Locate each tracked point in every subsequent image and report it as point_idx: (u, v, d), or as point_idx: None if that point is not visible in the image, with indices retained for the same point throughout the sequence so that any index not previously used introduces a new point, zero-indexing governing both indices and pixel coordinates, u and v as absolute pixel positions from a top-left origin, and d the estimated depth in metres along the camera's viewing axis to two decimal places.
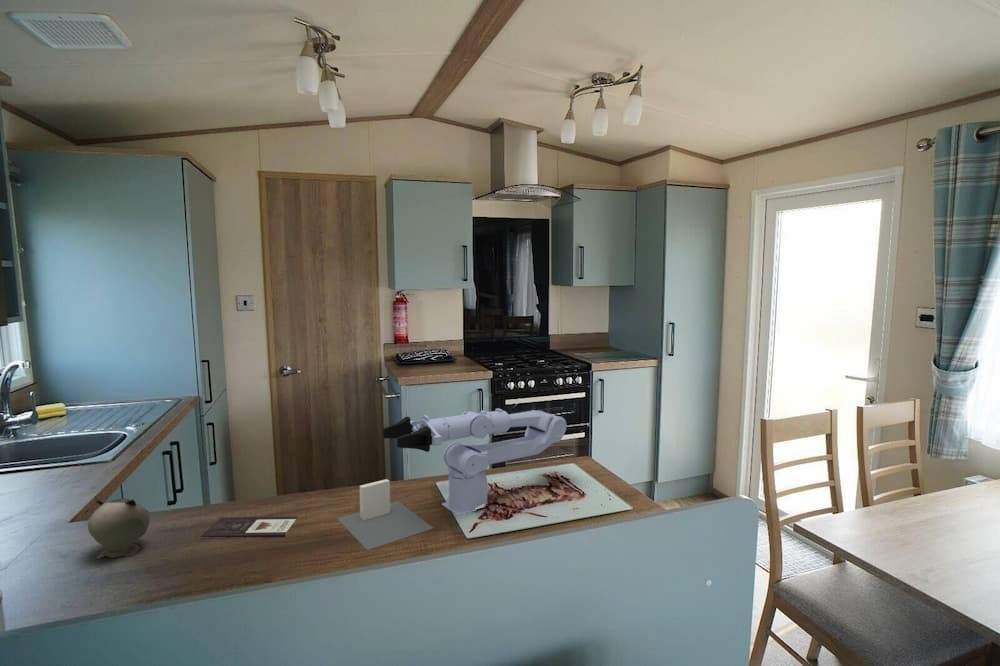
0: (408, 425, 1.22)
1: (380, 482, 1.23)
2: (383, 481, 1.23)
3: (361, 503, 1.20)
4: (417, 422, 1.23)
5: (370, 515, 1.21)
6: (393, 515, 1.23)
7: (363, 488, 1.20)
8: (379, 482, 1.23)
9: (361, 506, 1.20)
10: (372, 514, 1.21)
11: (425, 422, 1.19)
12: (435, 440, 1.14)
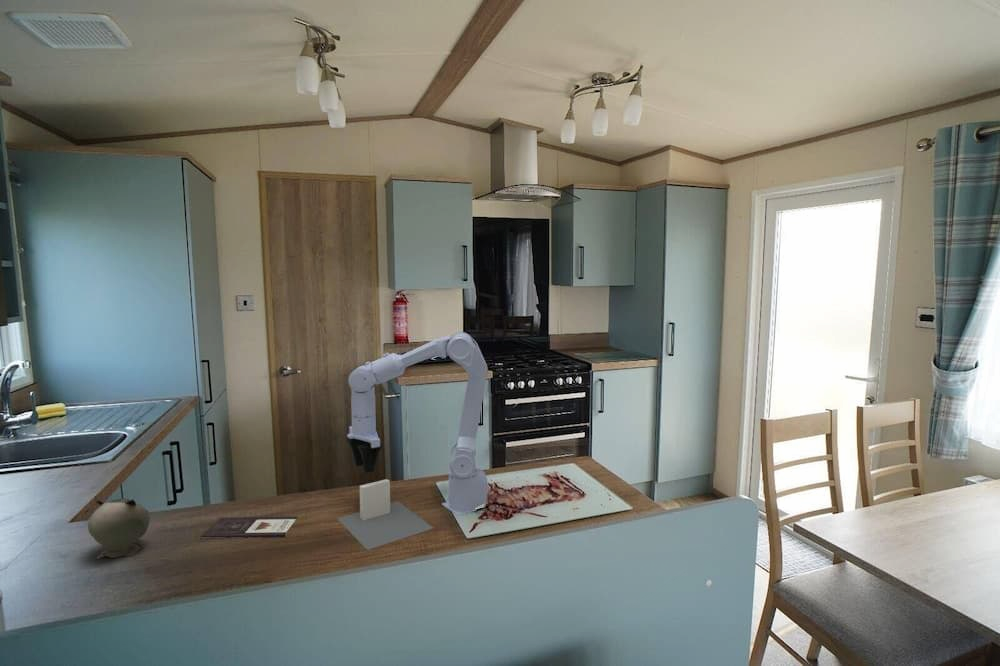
0: (356, 441, 1.27)
1: (380, 482, 1.23)
2: (383, 481, 1.23)
3: (361, 503, 1.20)
4: None
5: (370, 515, 1.21)
6: (393, 515, 1.23)
7: (363, 488, 1.20)
8: (379, 482, 1.23)
9: (361, 506, 1.20)
10: (372, 514, 1.21)
11: None
12: (375, 446, 1.20)
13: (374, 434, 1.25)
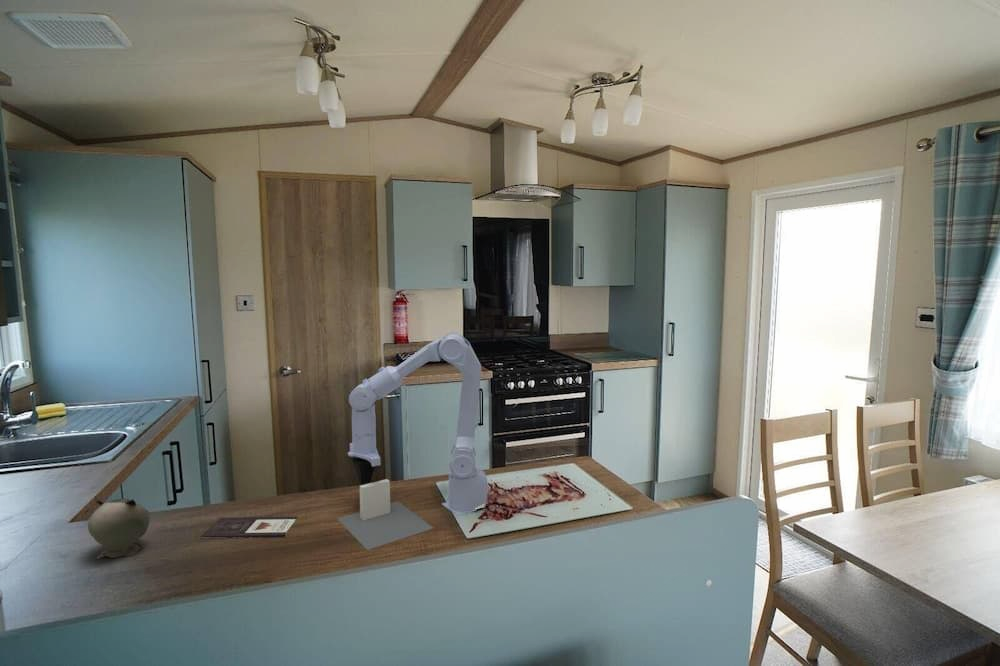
0: None
1: (380, 482, 1.23)
2: (383, 481, 1.23)
3: (361, 503, 1.20)
4: None
5: (370, 515, 1.21)
6: (393, 515, 1.23)
7: (363, 488, 1.20)
8: (379, 482, 1.23)
9: (361, 506, 1.20)
10: (372, 514, 1.21)
11: None
12: (375, 465, 1.20)
13: (374, 452, 1.25)
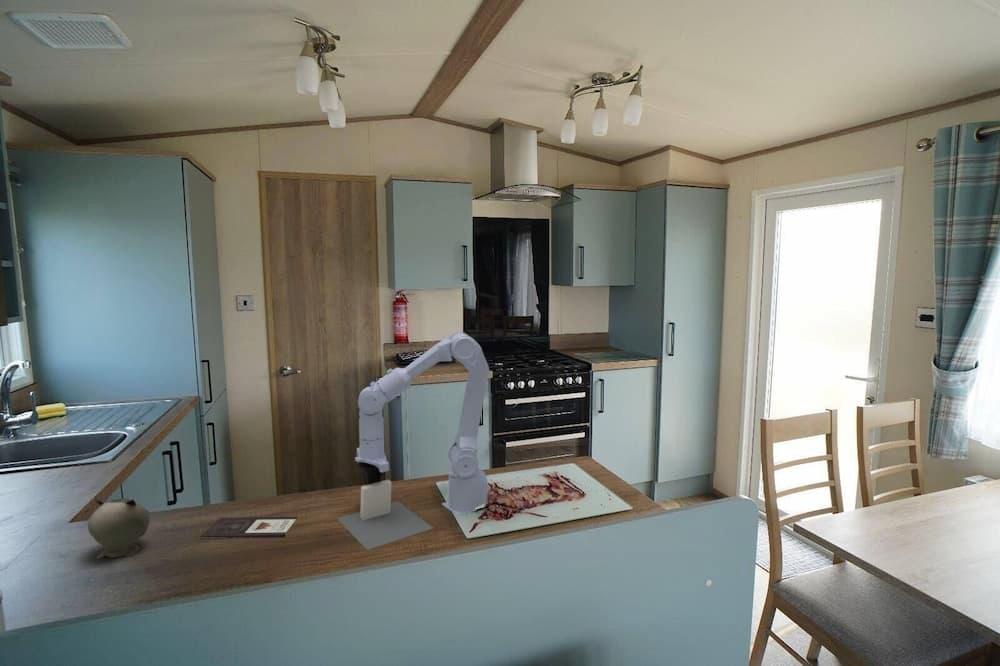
0: None
1: (382, 483, 1.22)
2: (385, 482, 1.23)
3: (362, 503, 1.20)
4: None
5: (370, 515, 1.21)
6: (393, 515, 1.23)
7: (365, 489, 1.19)
8: (381, 483, 1.22)
9: (362, 506, 1.20)
10: (372, 514, 1.21)
11: None
12: (383, 470, 1.17)
13: (382, 457, 1.21)
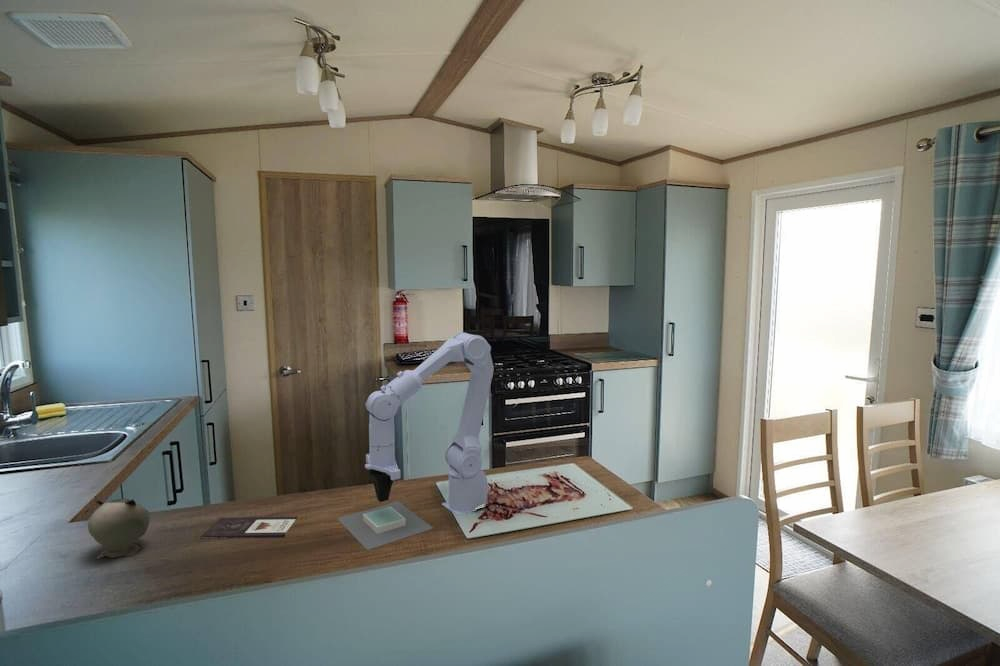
0: None
1: (396, 525, 1.17)
2: (400, 524, 1.17)
3: (369, 524, 1.17)
4: None
5: None
6: None
7: None
8: (396, 525, 1.16)
9: (368, 523, 1.17)
10: None
11: None
12: (395, 478, 1.12)
13: (393, 464, 1.17)
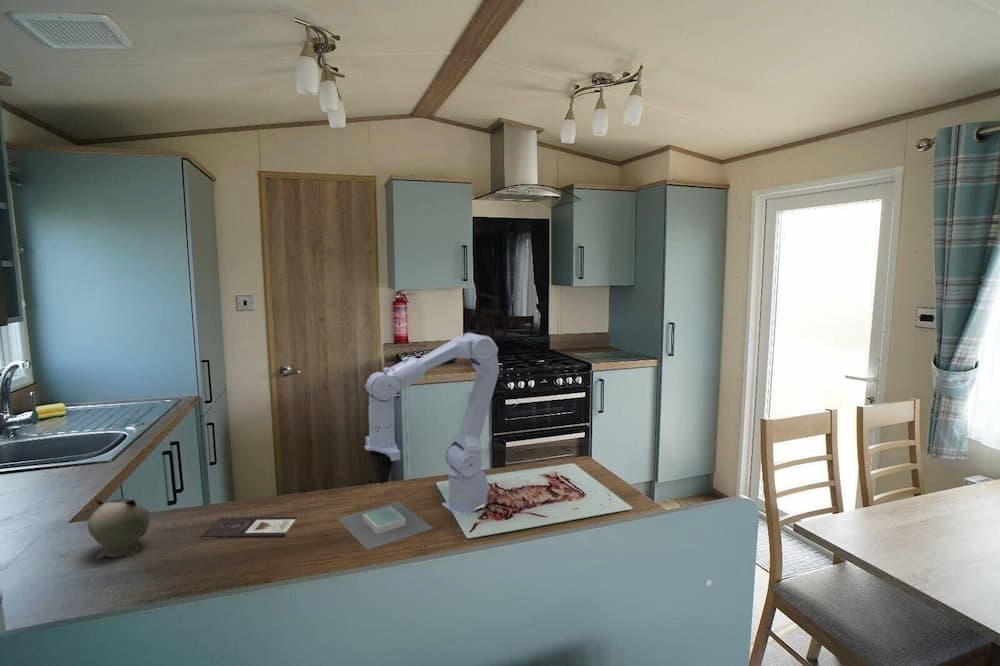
0: None
1: (396, 525, 1.17)
2: (400, 524, 1.17)
3: (369, 524, 1.17)
4: None
5: None
6: None
7: None
8: (396, 525, 1.16)
9: (368, 523, 1.17)
10: None
11: None
12: (395, 459, 1.12)
13: (393, 445, 1.16)
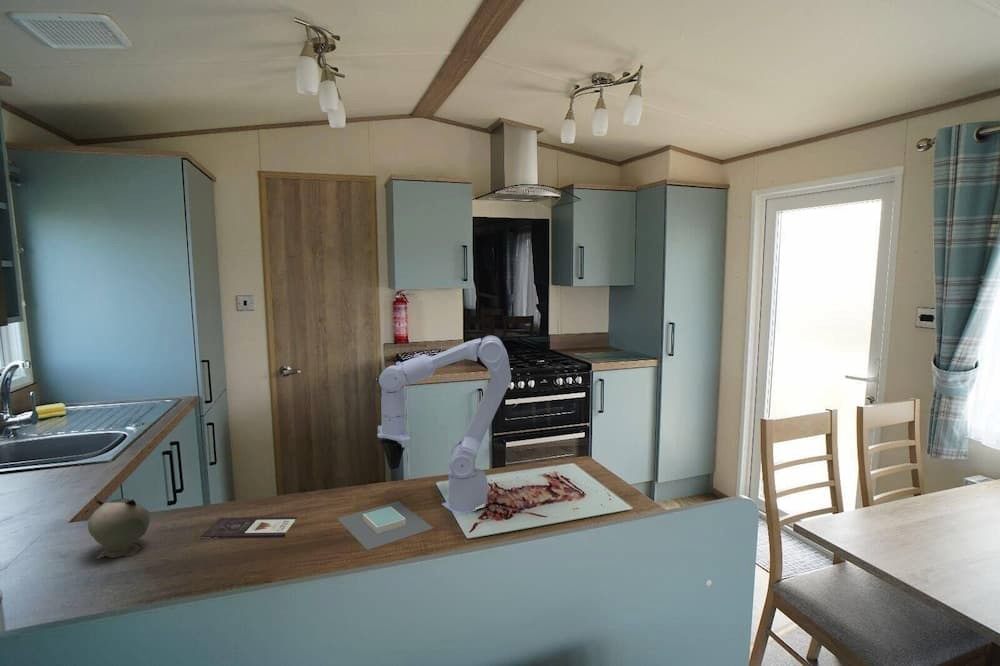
0: None
1: (396, 525, 1.17)
2: (400, 524, 1.17)
3: (369, 524, 1.17)
4: None
5: None
6: None
7: None
8: (396, 525, 1.16)
9: (368, 523, 1.17)
10: None
11: None
12: (406, 446, 1.20)
13: (404, 434, 1.25)
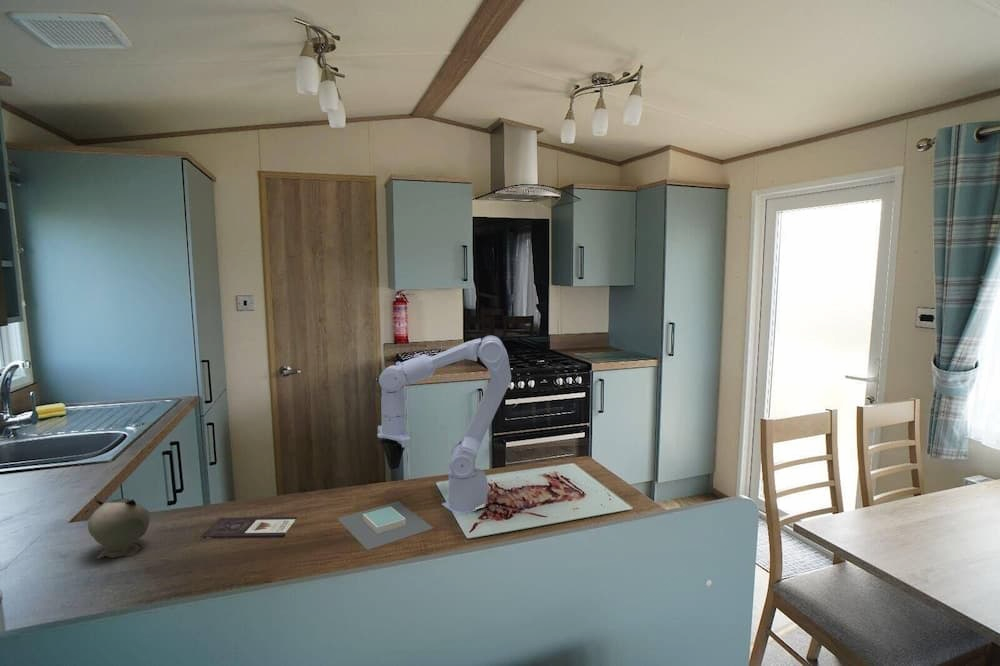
0: None
1: (396, 525, 1.17)
2: (400, 524, 1.17)
3: (369, 524, 1.17)
4: None
5: None
6: None
7: None
8: (396, 525, 1.16)
9: (368, 523, 1.17)
10: None
11: None
12: (406, 446, 1.20)
13: (404, 434, 1.25)
